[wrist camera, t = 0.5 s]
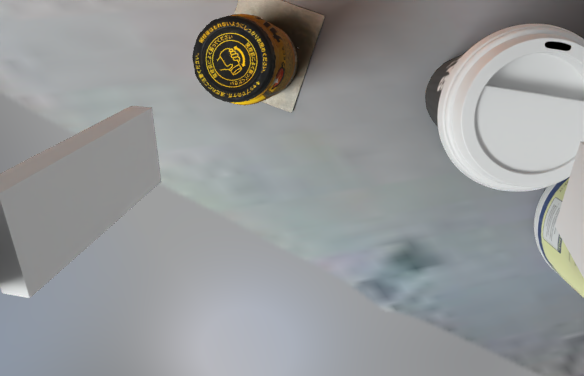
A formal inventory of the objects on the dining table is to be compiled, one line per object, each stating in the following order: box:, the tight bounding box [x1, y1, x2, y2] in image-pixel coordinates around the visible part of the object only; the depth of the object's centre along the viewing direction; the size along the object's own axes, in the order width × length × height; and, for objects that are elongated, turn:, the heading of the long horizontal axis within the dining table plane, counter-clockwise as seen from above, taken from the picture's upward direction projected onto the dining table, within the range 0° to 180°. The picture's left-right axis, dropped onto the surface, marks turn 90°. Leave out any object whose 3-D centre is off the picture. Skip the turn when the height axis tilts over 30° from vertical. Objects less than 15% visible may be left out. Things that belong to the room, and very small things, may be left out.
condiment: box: [193, 0, 325, 113], centre depth 34 cm, size 7×8×12 cm
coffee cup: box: [425, 24, 584, 191], centre depth 32 cm, size 10×10×15 cm
